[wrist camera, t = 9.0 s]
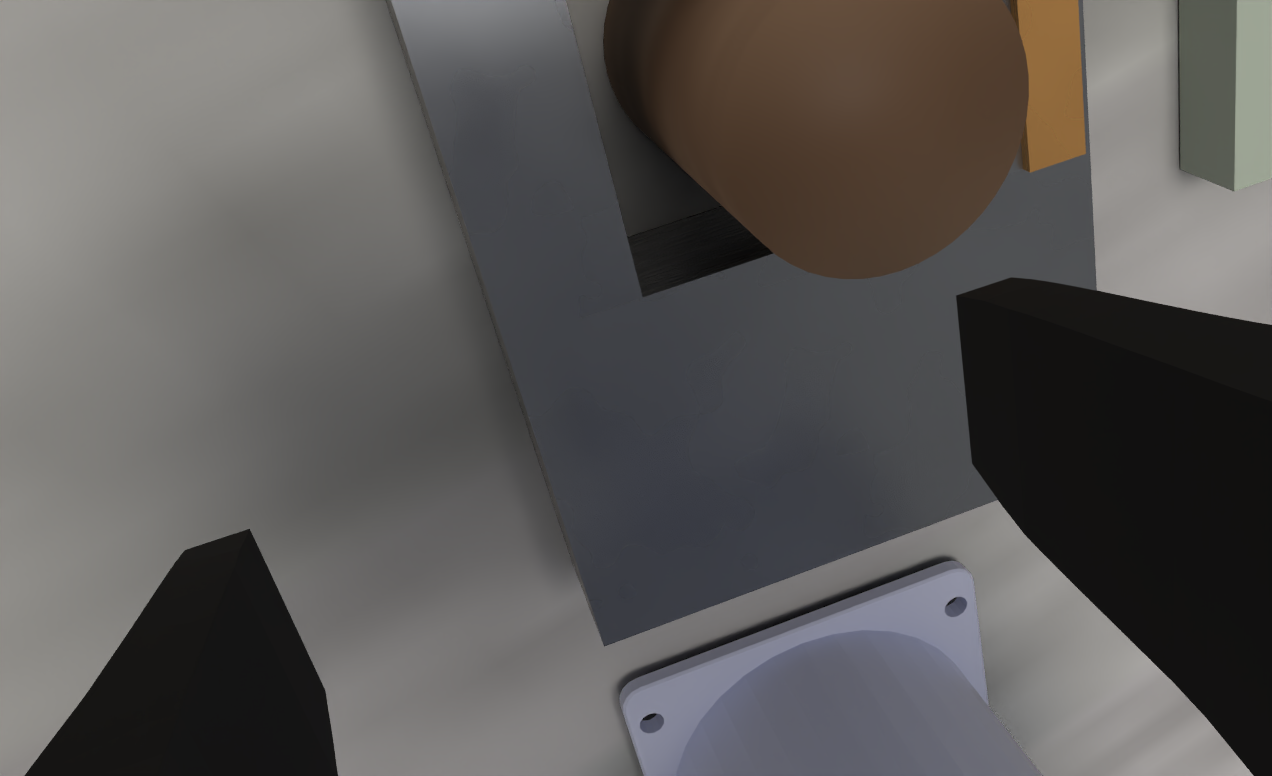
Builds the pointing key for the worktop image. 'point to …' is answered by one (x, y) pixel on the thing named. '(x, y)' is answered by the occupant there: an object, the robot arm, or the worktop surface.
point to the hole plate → (721, 325)
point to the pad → (1226, 90)
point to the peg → (830, 116)
